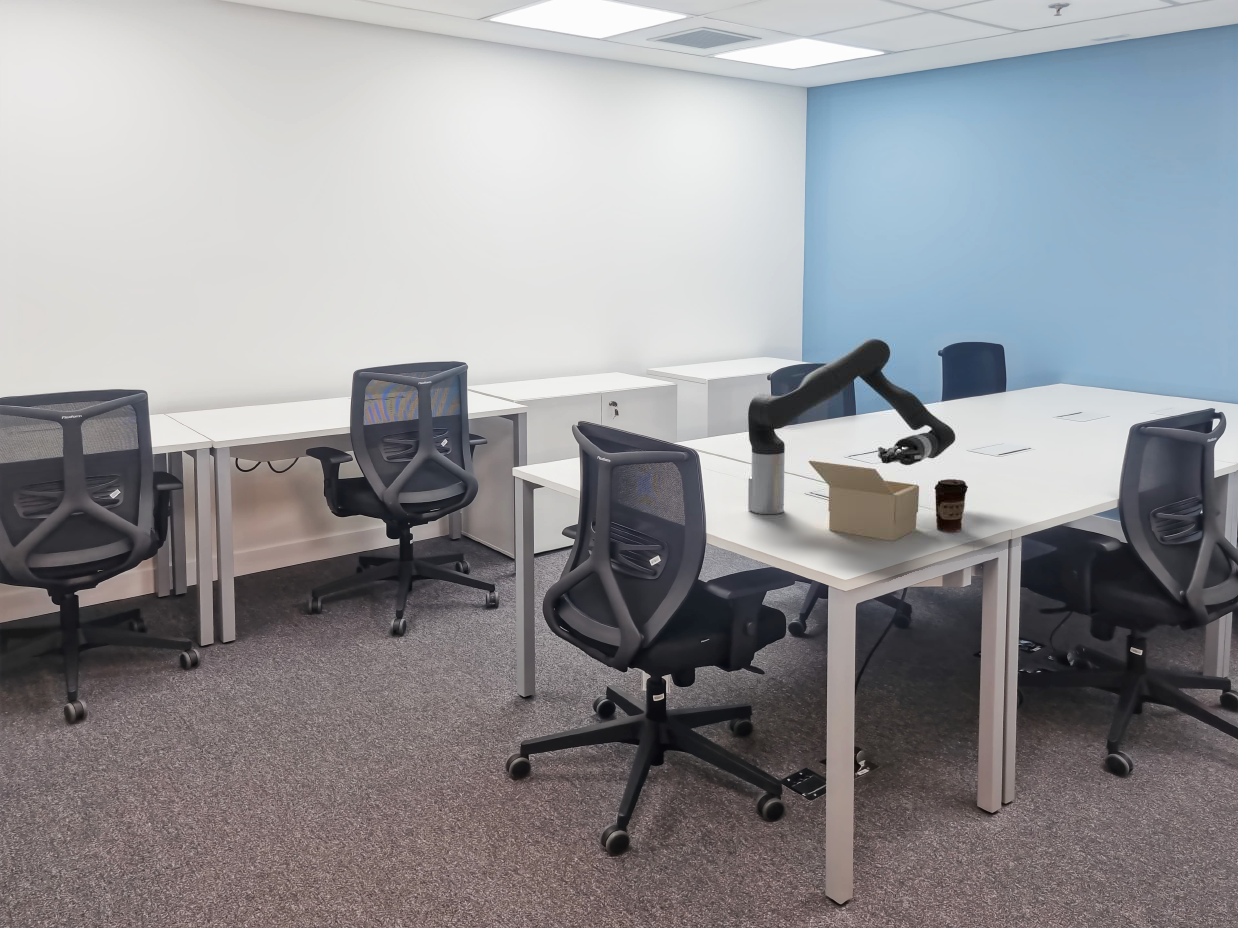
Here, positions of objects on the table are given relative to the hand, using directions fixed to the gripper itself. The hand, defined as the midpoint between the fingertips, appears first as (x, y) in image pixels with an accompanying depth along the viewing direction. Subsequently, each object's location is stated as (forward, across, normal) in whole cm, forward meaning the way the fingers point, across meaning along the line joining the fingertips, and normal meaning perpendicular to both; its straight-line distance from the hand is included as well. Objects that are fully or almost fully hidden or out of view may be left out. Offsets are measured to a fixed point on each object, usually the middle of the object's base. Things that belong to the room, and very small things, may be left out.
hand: (884, 459), depth 267 cm
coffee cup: (-6, +16, +18) cm, 25 cm away
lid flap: (+18, 0, +1) cm, 18 cm away
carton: (+6, 0, +18) cm, 19 cm away
